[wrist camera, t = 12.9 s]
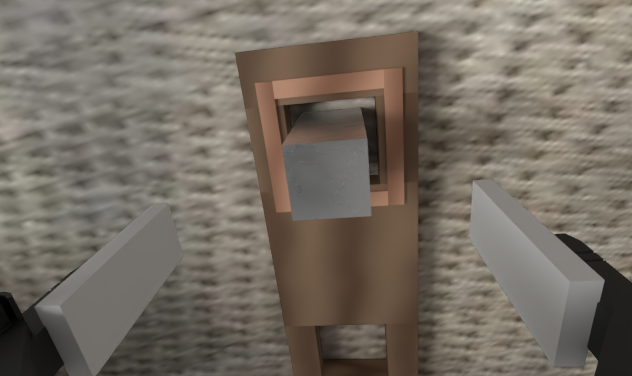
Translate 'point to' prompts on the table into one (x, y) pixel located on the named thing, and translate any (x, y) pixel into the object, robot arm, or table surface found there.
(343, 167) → the steel block
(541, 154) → the table surface
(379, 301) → the walnut rail
